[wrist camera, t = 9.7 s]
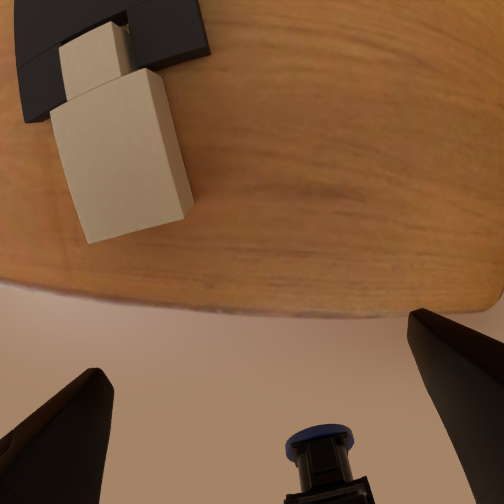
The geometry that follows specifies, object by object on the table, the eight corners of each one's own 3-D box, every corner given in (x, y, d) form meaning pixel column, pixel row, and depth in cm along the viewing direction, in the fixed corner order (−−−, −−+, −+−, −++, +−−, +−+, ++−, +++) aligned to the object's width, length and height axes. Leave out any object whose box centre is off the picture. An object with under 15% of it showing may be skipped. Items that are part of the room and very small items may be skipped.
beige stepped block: (194, 203, 18) (185, 219, 15) (109, 226, 18) (88, 244, 16) (151, 27, 14) (134, 10, 11) (68, 64, 14) (40, 58, 11)
